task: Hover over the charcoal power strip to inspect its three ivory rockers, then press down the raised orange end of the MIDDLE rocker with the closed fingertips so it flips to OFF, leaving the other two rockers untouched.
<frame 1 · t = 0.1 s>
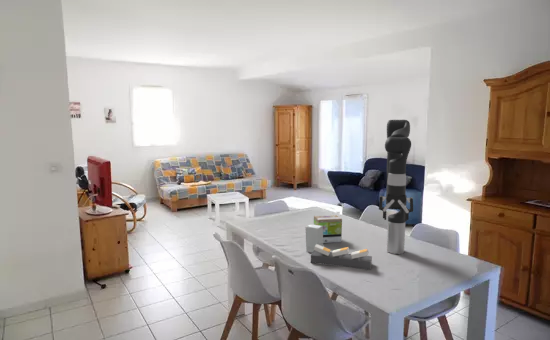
hand: (395, 220, 165), 29 cm above the table, fingers open, 8 cm apart
rocker 3: (359, 253, 188), point 7 cm above the table, hinge at 18.0°
rocker 2: (340, 251, 191), point 7 cm above the table, hinge at 18.0°
rocker 1: (322, 249, 194), point 7 cm above the table, hinge at -18.0°
tea box: (327, 240, 231), on the table
power strip: (341, 263, 194), on the table
skincare box: (314, 252, 212), on the table
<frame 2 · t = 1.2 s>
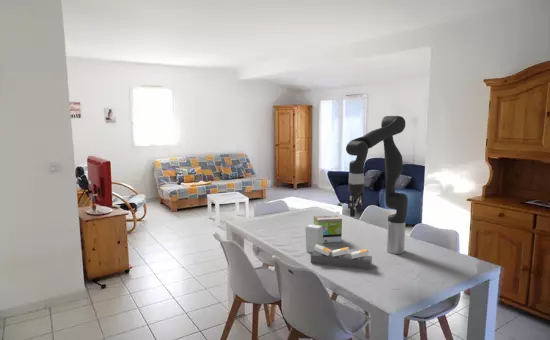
hand: (355, 214, 186), 27 cm above the table, fingers open, 8 cm apart
nothing on the table moved.
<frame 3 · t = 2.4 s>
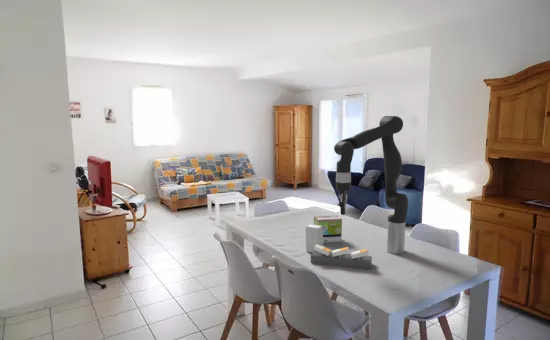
hand: (342, 214, 194), 25 cm above the table, fingers closed
nothing on the table moved.
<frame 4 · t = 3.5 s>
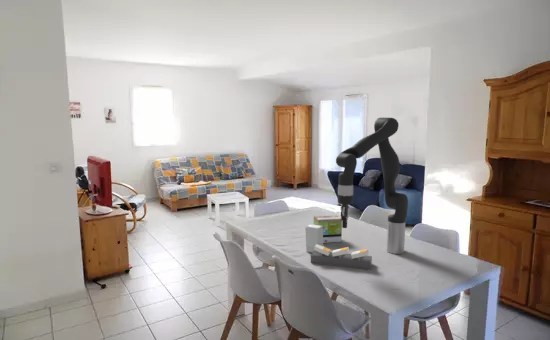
hand: (344, 227, 189), 19 cm above the table, fingers closed
nothing on the table moved.
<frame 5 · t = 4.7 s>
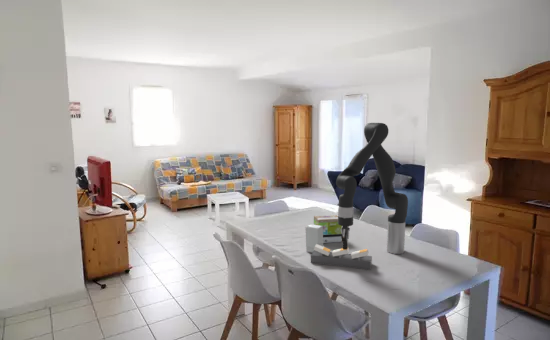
hand: (345, 248, 190), 8 cm above the table, fingers closed
rocker 2: (340, 251, 191), point 7 cm above the table, hinge at 17.6°, touching gripper
everything else where it was.
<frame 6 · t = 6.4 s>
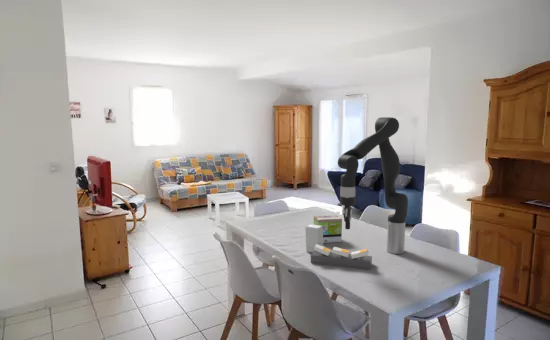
hand: (347, 228, 191), 18 cm above the table, fingers closed
rocker 2: (340, 251, 191), point 7 cm above the table, hinge at -9.4°
everything else where it was.
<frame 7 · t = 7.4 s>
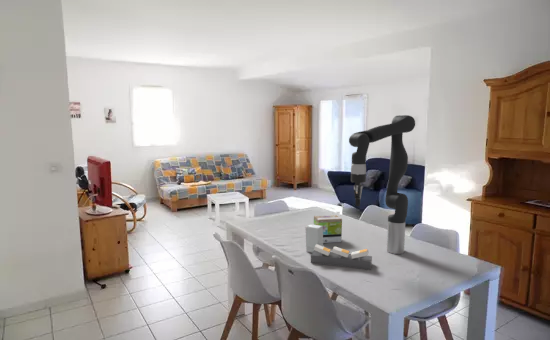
hand: (357, 205, 195), 29 cm above the table, fingers closed
rocker 2: (340, 251, 191), point 7 cm above the table, hinge at -14.2°
everything else where it was.
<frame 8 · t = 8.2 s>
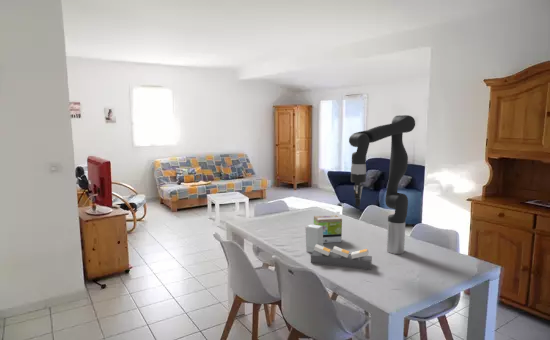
hand: (357, 205, 195), 29 cm above the table, fingers closed
rocker 2: (340, 251, 191), point 7 cm above the table, hinge at -16.2°
everything else where it was.
at the end: rocker 2 at -16° (first picture: +18°); rocker 3 at +18° (first picture: +18°); rocker 1 at -18° (first picture: -18°) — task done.
